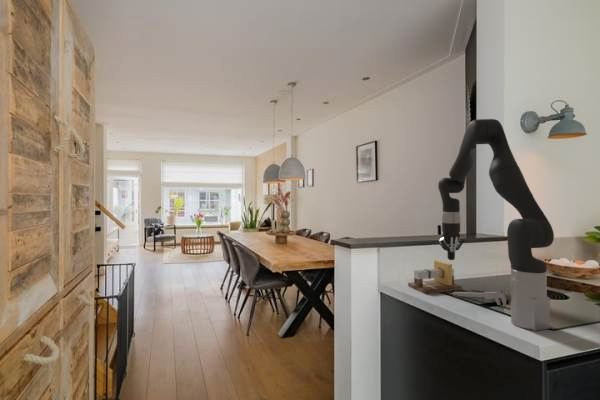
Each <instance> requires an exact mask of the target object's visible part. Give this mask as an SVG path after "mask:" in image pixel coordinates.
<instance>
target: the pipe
mask: <svg viewBox="0 0 600 400" xmlns="http://www.w3.org/2000/svg"><path fill="white" fill-rule="evenodd" d="M413 276H414V277H413V278H416V279H423V280H427V279H429V280H430V279H434V278H438V277H444V269H442V268H440V269H434V268H431V269H420V270H419V269H417V270H414V271H413ZM452 276H454V277H455V268H452Z"/></svg>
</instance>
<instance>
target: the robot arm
mask: <svg viewBox="0 0 600 400" xmlns="http://www.w3.org/2000/svg"><path fill="white" fill-rule="evenodd" d="M465 129H466V130H465V131H464V134H463V138H462V141H461V144H460V147H459V151H458V154H457V156H456V158H455V161H454V162H453V165H452V166H451V168H450V170H449V172H448V174H449V177H442V178H440V180H439V181H438V183H437V184H438V185H437V186H438V187H437V188H438V191H439V194H440V198H441V203H442V215H441V229H442V230H441V231H442V237H441V238H440V239H438V240H437V242H438V244H439V245H440V247H441V248H442V249H443V250H444V251H446V252H447V259H448V260H449V261H454V260H455V258H456V252H457V251H460V248H461V247H462V245H463V244H464V242H465V239H464V238H462V237H461V234H460V233H461V214H460V213H461V212H460V209H461V208H460V207H461V206H460V200H459V199H458V198H454V197H451V194H458V193H462V191H463V190H464V189H465V184H466V178H467V176H468V175H469V173H470V172H471V170H472V168H473V165H474V159H473V155H472V149H473V148H474V147H475V145H489V146H490V148H491V150H492V153H493V156H492V160H491V163H490V166H489V169H488V175H489V179H490V181H491V183H492V186H493V188H494V190H495V191H496V192H497V194H498V195H499V196H501V198H503V199H504V200H505V201H506V202H508V203H509V204H510V205H511V206H513V208H515V210H516V211H517V212H518V213H519V214H520V217H521V218H514V219H512V220H511V221H510V222H509V223H508V227H507V231H506V233H507V234H506V236H507V252H508V259H509V263H510V317H511V319H510V322H511V323H512V324H513V325H515V326H517V327H520V328H523V329H528V330H532V331H534V332H536V331H542V330H543V331H544V330H549V329H551V297H549V296H548V295H547V294H548V292H547V285H548V284H547V281H548V280H547V279H548V278H547V275H548V273H547V269H548V267H547V263H546V261H544V260H541V259H538V258H536V257H535V256H533V252H532V249H540V248H541V249H543V248H548V247H550V246H551V245H552V244H553V243H554V239H555V234H554V233H555V232H554V230H553V227H552V225H551V222H550V221H549V220H548V218H547V216H546V214H544V211H543V210H542V209H541V207H540V205H539V204H538V201H536V198H535V197H534V194H533V193H532V190H531V189H530V187H529V184H528V183H527V181H526V179H525V177H524V174H523V172H522V170H521V168H520V166H519V164H518V163H517V161H516V158H515V156H514V154H513V152H512V149H511V147H510V145H509V142H508V138H507V137H506V132H505V130H504V128H503V125H502V123H501V122H500V121H499V120H497V119H496V118H495V119H494V118H485V119H484V118H481V119H478V118H477V119H473V120H472V121H470V122H469V123H468V125H467V127H466V128H465Z"/></svg>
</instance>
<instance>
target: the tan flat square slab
mask: <svg viewBox="0 0 600 400" xmlns="http://www.w3.org/2000/svg"><path fill="white" fill-rule="evenodd" d="M433 263H434V264H433V265H434V266H433V269H440V268H442V269H444V277H438V278H433V279H434V280H435V281H437V282H440V283H443V284H445V285H448V286H449V285H452V269H453V264H452V263H449V262H446V261H442V260H439V259H438V260H437V259H436V260H434V262H433Z"/></svg>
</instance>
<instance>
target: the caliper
mask: <svg viewBox="0 0 600 400" xmlns="http://www.w3.org/2000/svg"><path fill="white" fill-rule="evenodd" d="M505 293H506V292H504V291H503V290H502V289H500V290H499V289H496V291H484V292H465V291H464V292H463V291H452V293H450V295H451V294H453V296H455V295H457V296H456V297H468V298H470V297H472V298H484V300H486V301H487V300H494V301H495V302H496V304H497V306H498V305H501V306H502V305H503V308H505V307H507V296H506V294H505ZM500 299H501V300H500ZM501 302H502V304H501Z"/></svg>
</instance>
